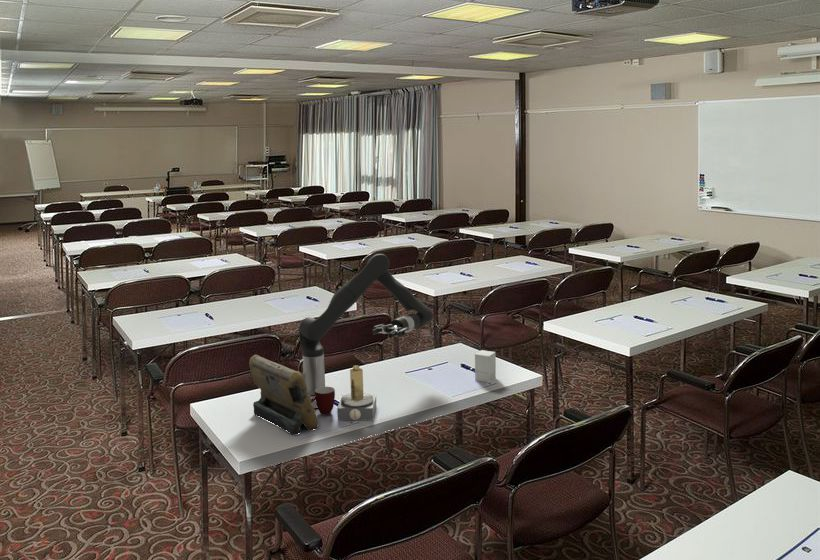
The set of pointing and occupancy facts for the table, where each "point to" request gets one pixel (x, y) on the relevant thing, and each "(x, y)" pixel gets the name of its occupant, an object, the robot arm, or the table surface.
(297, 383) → the tablet
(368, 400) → the scale platter
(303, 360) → the robot arm
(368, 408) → the scale housing
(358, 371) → the calibration weight
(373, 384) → the table surface
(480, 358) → the supplement box
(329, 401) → the mug
